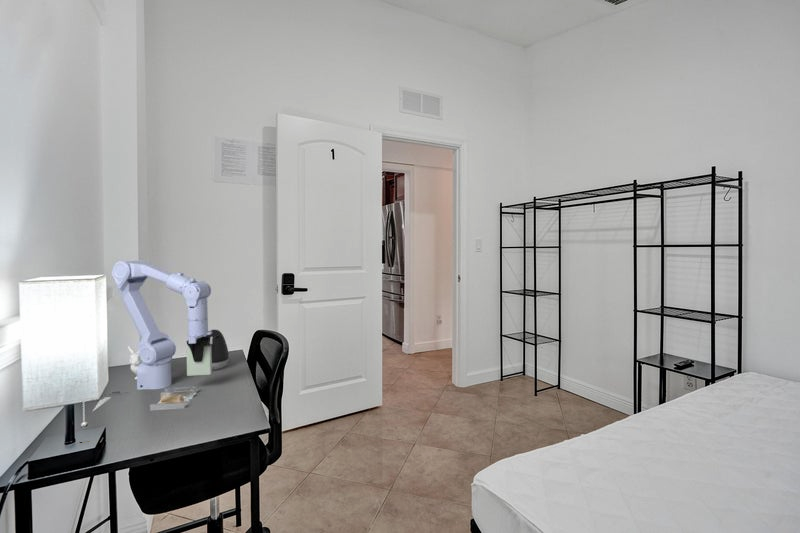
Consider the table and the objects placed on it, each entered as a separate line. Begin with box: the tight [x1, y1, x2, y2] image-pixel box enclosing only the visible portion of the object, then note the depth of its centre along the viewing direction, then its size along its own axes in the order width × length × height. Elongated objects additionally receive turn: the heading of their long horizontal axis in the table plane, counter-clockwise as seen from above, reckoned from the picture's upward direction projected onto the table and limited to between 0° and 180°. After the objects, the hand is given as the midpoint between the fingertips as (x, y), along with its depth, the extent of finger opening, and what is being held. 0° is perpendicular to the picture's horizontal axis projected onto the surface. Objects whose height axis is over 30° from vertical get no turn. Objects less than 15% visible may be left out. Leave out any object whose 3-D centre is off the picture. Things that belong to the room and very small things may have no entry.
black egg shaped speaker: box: [206, 328, 230, 371], centre depth 159 cm, size 10×10×15 cm
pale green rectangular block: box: [185, 346, 213, 377], centre depth 134 cm, size 7×2×9 cm, turn 102°
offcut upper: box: [160, 395, 182, 403], centre depth 121 cm, size 5×2×1 cm, turn 102°
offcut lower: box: [157, 398, 184, 404], centre depth 121 cm, size 6×3×1 cm, turn 102°
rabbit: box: [127, 345, 144, 380], centre depth 149 cm, size 12×9×12 cm
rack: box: [149, 385, 200, 411], centre depth 126 cm, size 9×16×3 cm, turn 12°
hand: (199, 360), depth 134 cm, fingers closed on pale green rectangular block, 2 cm apart
